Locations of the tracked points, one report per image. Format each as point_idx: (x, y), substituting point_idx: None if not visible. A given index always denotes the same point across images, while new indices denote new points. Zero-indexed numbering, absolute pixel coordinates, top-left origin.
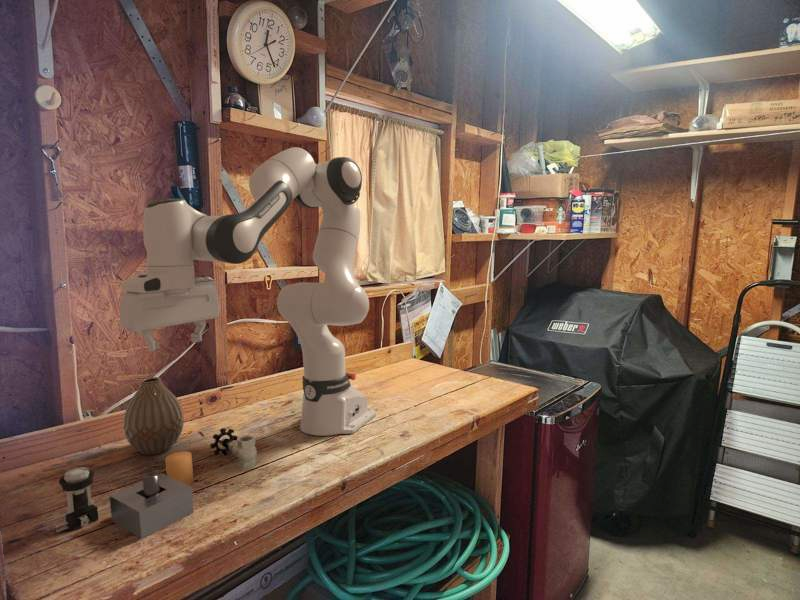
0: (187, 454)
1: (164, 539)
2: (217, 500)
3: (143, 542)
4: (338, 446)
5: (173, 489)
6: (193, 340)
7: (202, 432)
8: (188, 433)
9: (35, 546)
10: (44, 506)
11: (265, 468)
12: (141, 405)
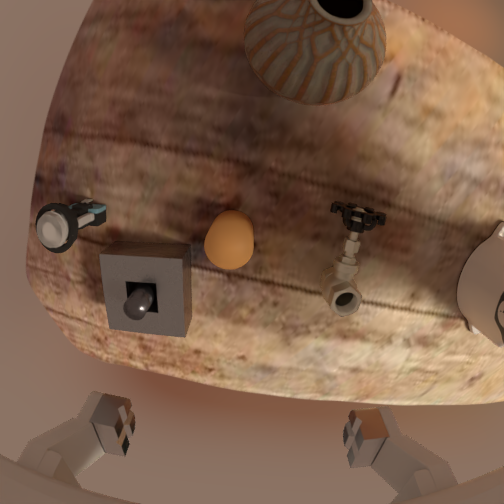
0: (245, 252)
1: None
2: (229, 321)
3: None
4: (432, 343)
5: (164, 320)
6: (351, 425)
7: (400, 82)
8: None
9: None
10: (82, 113)
11: None
12: (272, 41)
